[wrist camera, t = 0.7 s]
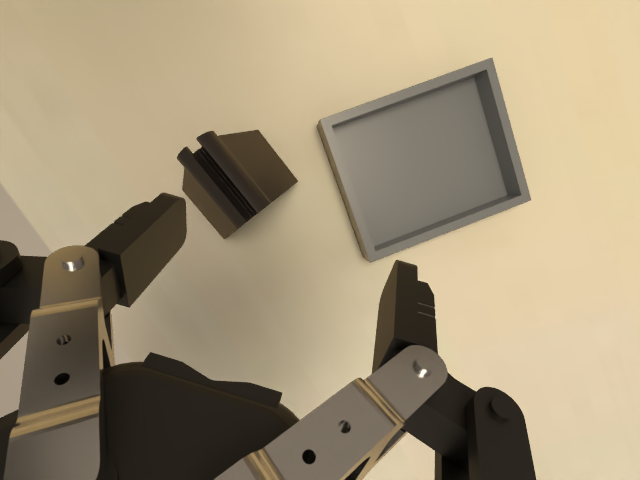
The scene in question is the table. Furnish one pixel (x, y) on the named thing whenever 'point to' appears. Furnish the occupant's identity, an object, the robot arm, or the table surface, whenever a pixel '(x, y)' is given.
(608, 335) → the table surface
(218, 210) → the phone stand
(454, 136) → the tray
